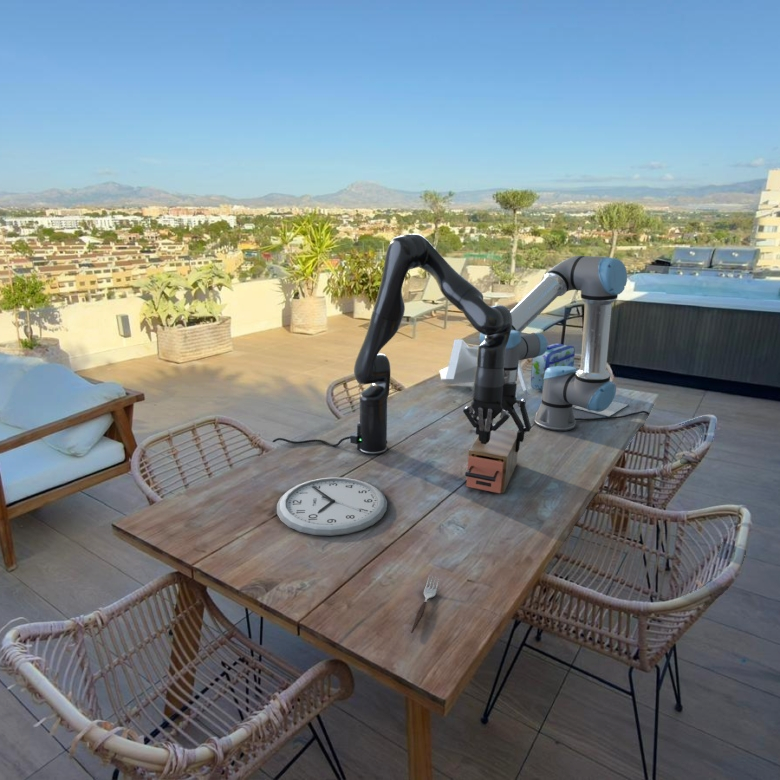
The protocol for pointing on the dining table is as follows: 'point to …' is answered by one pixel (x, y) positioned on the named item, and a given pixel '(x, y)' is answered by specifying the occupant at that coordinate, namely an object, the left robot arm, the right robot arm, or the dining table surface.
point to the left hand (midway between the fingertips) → (484, 442)
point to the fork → (428, 594)
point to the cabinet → (499, 451)
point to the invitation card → (607, 409)
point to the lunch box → (550, 362)
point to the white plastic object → (468, 366)
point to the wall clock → (331, 506)
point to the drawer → (485, 473)
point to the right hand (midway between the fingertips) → (498, 447)
